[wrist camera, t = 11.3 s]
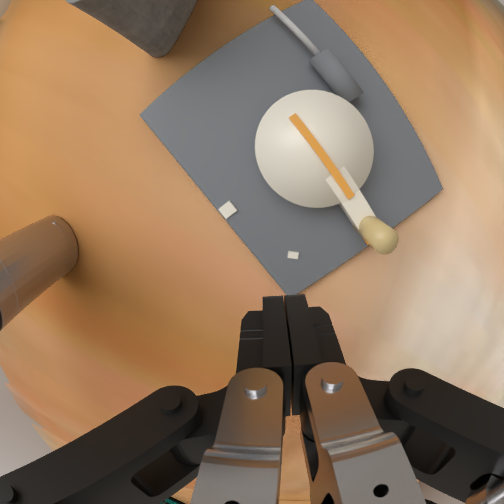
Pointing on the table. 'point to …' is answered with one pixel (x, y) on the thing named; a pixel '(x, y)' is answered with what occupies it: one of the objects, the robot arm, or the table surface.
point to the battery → (171, 501)
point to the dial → (321, 158)
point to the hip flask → (142, 20)
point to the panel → (244, 133)
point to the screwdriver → (325, 64)
